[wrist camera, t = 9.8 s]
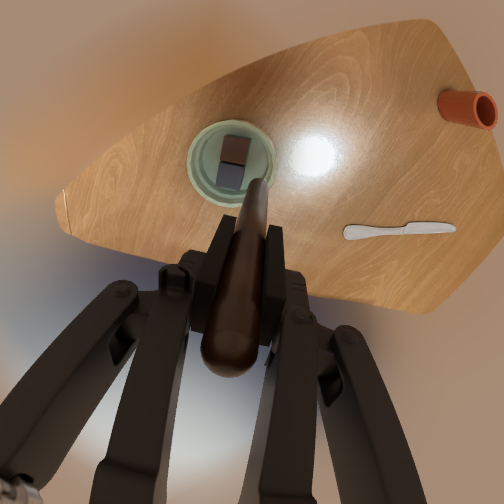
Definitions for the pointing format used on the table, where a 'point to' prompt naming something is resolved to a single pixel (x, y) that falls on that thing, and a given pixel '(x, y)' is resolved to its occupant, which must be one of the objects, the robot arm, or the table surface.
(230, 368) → the stick
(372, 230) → the butter knife
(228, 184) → the block
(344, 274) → the table surface
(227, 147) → the block
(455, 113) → the holder
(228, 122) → the bowl
